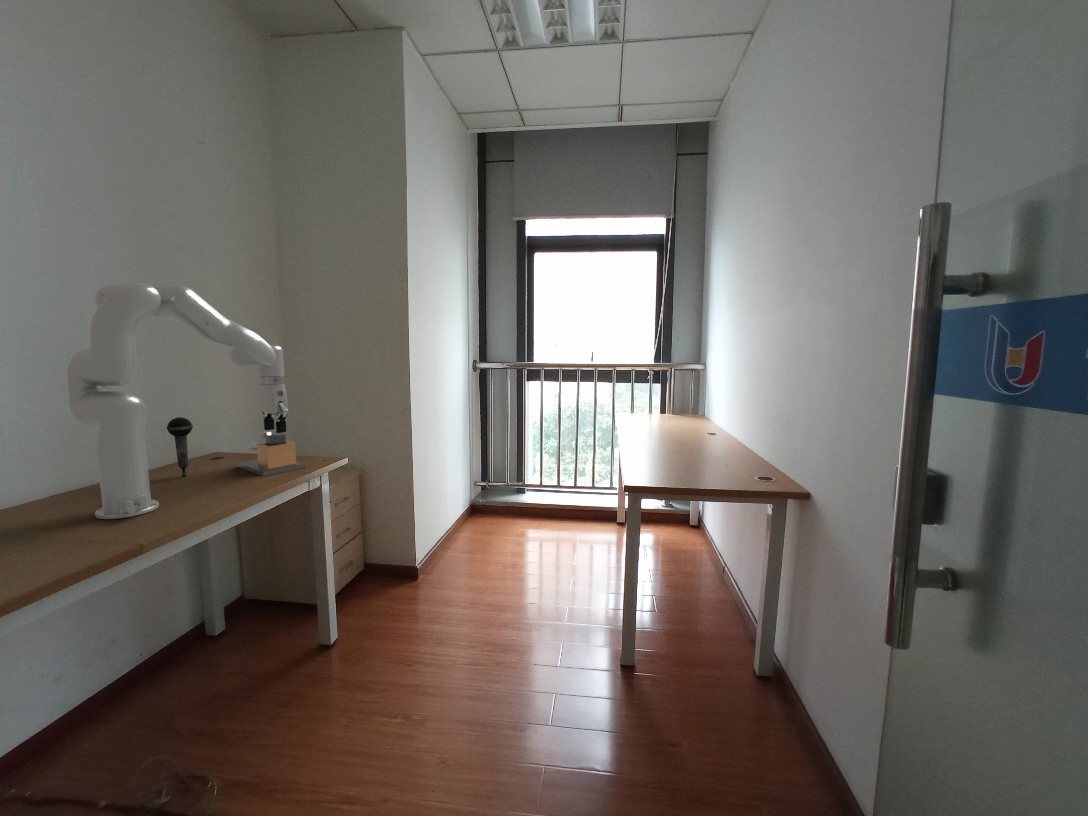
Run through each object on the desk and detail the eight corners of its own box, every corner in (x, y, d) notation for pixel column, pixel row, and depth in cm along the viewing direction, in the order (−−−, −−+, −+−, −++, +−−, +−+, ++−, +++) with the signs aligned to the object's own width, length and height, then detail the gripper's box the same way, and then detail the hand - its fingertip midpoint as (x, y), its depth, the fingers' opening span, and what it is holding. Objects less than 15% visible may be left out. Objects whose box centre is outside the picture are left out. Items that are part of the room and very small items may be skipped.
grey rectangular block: (286, 465, 167) (285, 434, 165) (271, 467, 163) (269, 436, 161) (283, 463, 169) (281, 433, 167) (268, 465, 165) (266, 435, 163)
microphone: (198, 472, 161) (193, 415, 158) (195, 477, 155) (190, 418, 153) (172, 475, 157) (167, 416, 155) (169, 480, 152) (163, 419, 149)
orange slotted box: (304, 467, 169) (302, 433, 167) (263, 476, 158) (261, 439, 156) (277, 459, 181) (275, 427, 179) (237, 467, 169) (234, 433, 168)
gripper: (296, 382, 160) (298, 432, 163) (271, 379, 170) (274, 427, 173) (273, 383, 154) (276, 435, 156) (249, 380, 164) (252, 429, 166)
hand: (275, 430), depth 164 cm, fingers open, 8 cm apart
